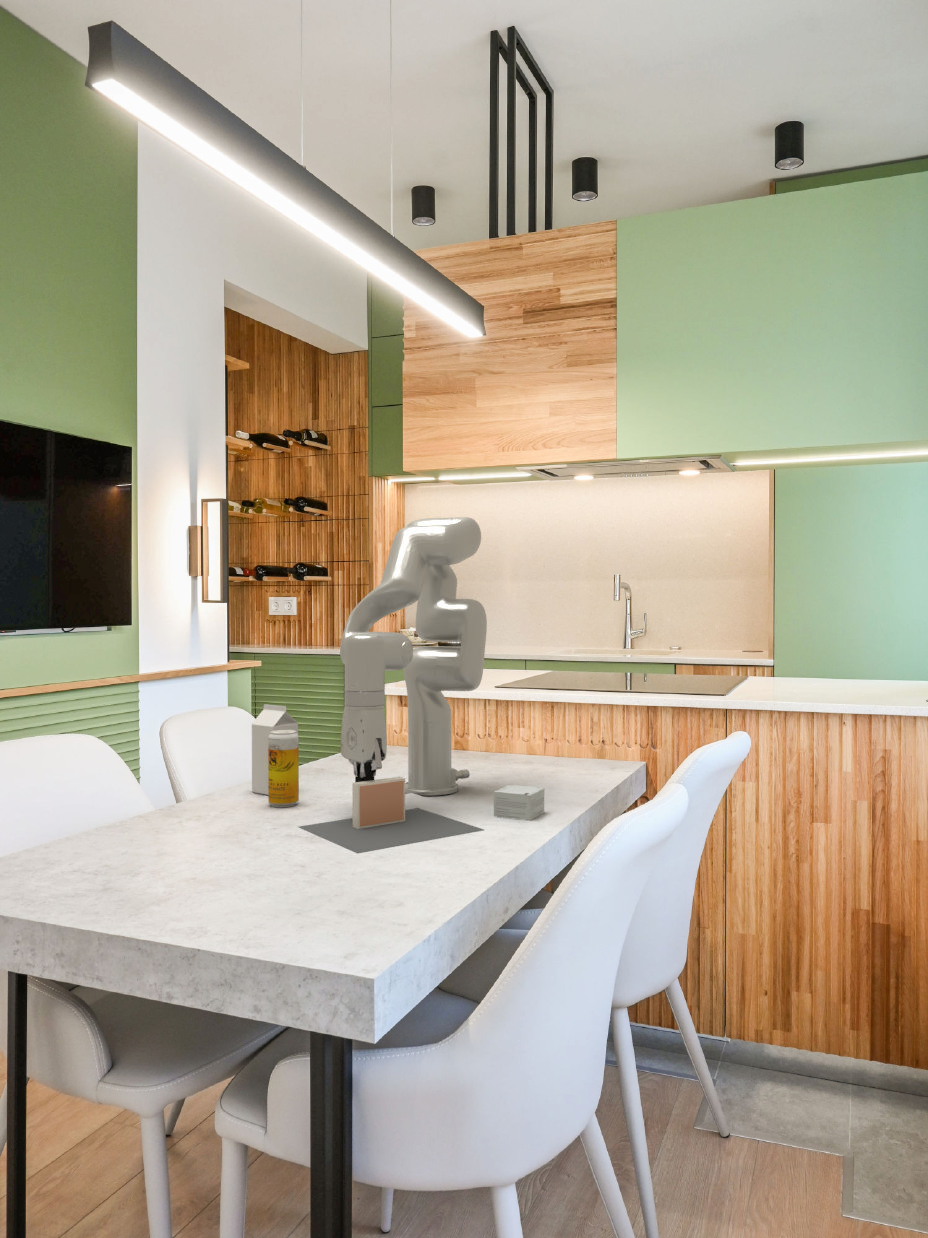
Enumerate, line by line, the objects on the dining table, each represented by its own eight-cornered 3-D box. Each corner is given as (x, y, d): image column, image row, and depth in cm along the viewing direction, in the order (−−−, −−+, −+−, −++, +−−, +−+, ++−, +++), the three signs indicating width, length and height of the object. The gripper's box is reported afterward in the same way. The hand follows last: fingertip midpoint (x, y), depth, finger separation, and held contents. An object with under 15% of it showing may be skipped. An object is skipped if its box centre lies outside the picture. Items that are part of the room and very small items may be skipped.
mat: (417, 810, 181) (417, 807, 181) (485, 833, 163) (485, 829, 163) (297, 830, 165) (297, 826, 165) (357, 857, 147) (357, 853, 147)
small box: (508, 809, 183) (508, 783, 183) (545, 813, 179) (545, 787, 179) (492, 817, 176) (492, 791, 176) (530, 821, 172) (530, 794, 172)
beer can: (262, 806, 185) (261, 732, 185) (281, 800, 190) (281, 729, 190) (285, 809, 182) (285, 734, 182) (304, 803, 188) (304, 730, 187)
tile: (399, 819, 171) (399, 776, 171) (405, 821, 169) (405, 778, 169) (352, 826, 165) (352, 782, 165) (358, 829, 163) (358, 784, 163)
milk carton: (273, 796, 194) (273, 707, 194) (251, 792, 198) (251, 705, 198) (298, 791, 200) (298, 704, 200) (276, 787, 204) (276, 702, 204)
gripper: (328, 697, 175) (328, 793, 175) (366, 704, 163) (367, 807, 163) (362, 695, 179) (362, 788, 179) (402, 702, 167) (402, 801, 167)
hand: (364, 797), depth 171 cm, fingers closed
